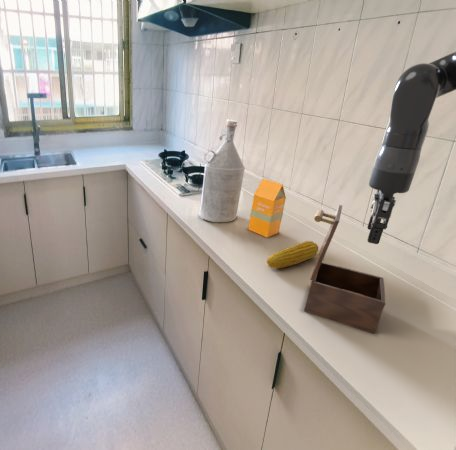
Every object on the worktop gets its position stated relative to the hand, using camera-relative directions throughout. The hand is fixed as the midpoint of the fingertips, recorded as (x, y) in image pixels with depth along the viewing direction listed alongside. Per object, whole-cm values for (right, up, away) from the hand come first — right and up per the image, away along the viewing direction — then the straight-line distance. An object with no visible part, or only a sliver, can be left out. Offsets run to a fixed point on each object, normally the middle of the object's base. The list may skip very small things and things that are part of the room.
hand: (372, 235), depth 78 cm
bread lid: (-7, -2, +5) cm, 9 cm away
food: (-6, -10, +31) cm, 33 cm away
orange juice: (-9, 0, +53) cm, 54 cm away
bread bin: (-3, -19, +10) cm, 22 cm away
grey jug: (-24, +6, +64) cm, 69 cm away
